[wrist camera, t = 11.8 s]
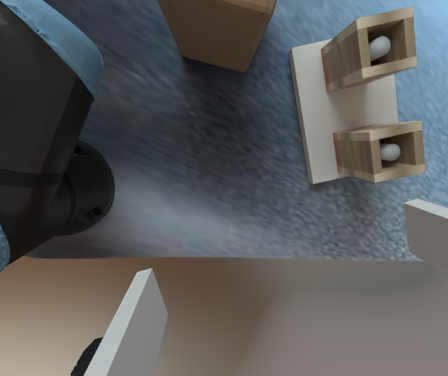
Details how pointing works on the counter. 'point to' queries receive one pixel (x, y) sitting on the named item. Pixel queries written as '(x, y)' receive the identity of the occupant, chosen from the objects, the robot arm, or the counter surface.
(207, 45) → the wooden block
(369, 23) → the sleeve seated
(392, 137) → the sleeve
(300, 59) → the pin board
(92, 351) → the robot arm
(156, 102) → the counter surface
